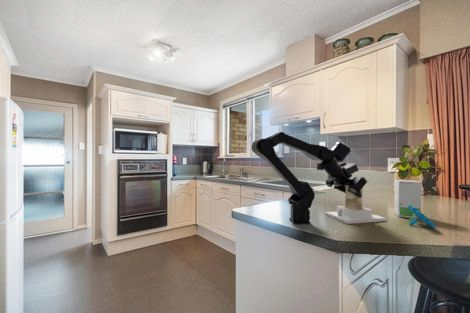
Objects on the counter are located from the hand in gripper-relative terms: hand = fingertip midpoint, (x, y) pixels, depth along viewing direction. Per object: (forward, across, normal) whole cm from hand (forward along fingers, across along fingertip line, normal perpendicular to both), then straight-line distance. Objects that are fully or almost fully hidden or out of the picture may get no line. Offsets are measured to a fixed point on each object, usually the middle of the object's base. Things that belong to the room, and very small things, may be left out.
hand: (356, 195), depth 96 cm
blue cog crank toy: (+17, -15, -4) cm, 23 cm away
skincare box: (+23, -3, -10) cm, 25 cm away
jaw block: (+4, 0, +6) cm, 7 cm away
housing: (+6, 0, +7) cm, 9 cm away
